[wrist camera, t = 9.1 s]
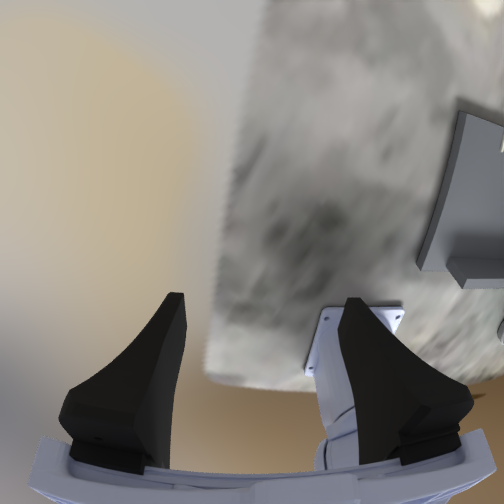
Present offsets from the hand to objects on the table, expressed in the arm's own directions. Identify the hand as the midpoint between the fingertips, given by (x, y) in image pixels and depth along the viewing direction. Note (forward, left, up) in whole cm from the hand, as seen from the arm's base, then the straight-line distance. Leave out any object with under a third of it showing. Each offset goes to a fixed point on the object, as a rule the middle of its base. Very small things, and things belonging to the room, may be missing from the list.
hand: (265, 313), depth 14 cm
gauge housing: (+3, -22, -9) cm, 24 cm away
